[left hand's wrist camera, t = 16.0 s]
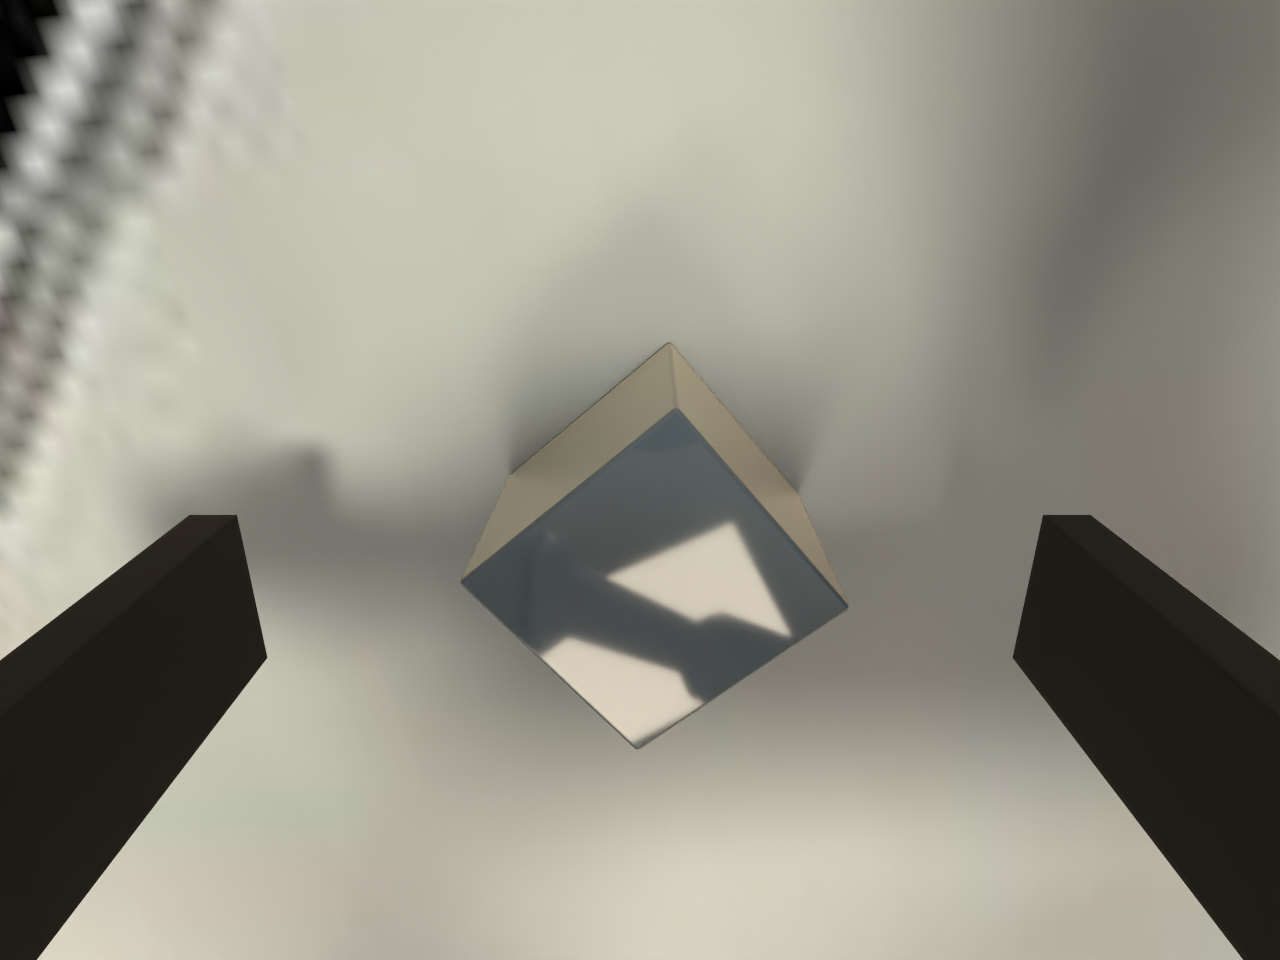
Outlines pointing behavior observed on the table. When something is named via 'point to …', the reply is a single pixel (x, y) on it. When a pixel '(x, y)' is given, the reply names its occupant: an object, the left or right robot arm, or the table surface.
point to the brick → (653, 553)
